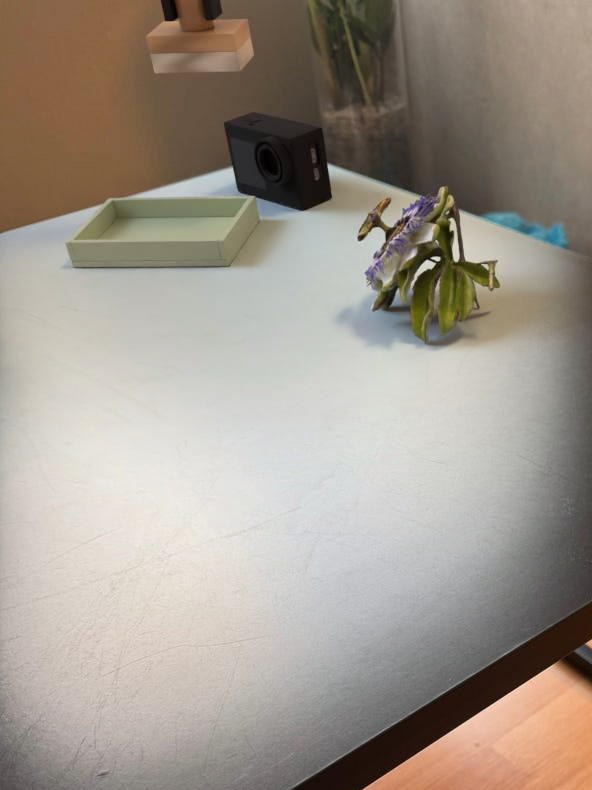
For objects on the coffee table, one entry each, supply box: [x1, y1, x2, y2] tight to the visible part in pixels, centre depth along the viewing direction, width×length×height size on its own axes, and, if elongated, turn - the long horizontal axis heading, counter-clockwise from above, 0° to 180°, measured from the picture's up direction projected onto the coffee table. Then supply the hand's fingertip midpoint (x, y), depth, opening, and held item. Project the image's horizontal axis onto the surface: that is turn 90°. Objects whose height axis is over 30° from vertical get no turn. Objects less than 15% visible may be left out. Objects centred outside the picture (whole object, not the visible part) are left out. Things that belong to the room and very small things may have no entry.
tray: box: [64, 195, 261, 268], centre depth 97 cm, size 15×11×2 cm
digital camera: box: [223, 111, 333, 211], centre depth 104 cm, size 10×5×7 cm, turn 50°
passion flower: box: [356, 185, 501, 345], centre depth 82 cm, size 11×11×12 cm
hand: (194, 16), depth 90 cm, fingers closed on brush, 3 cm apart
